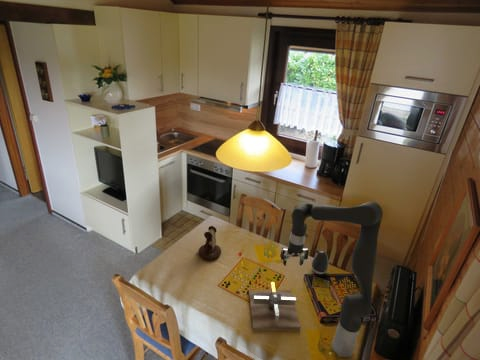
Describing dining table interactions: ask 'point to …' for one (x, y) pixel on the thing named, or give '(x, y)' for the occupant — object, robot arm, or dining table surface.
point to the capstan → (274, 301)
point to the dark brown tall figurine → (210, 245)
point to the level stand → (265, 316)
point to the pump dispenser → (320, 262)
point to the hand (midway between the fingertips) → (292, 264)
